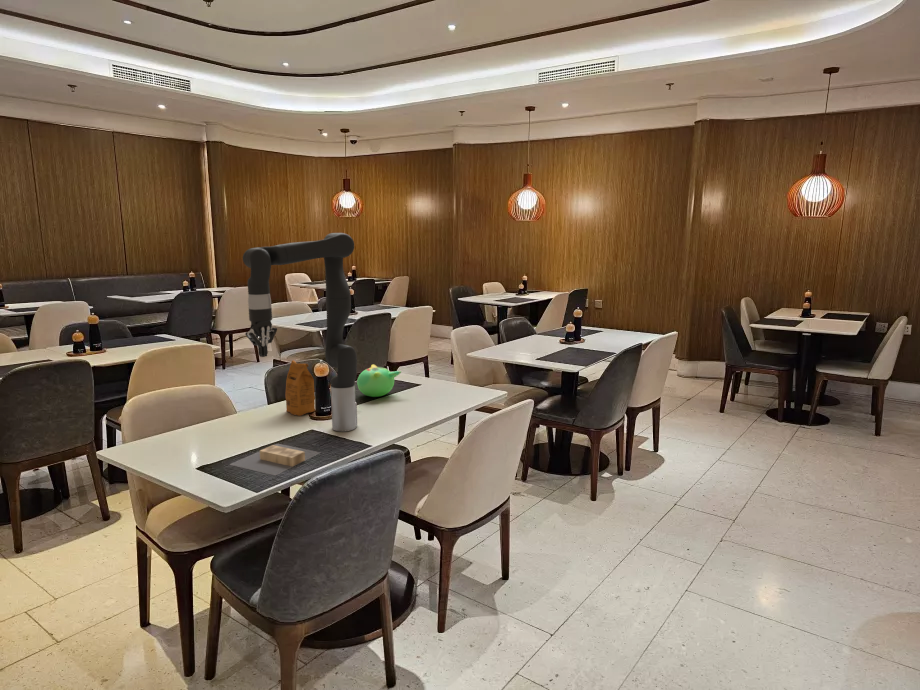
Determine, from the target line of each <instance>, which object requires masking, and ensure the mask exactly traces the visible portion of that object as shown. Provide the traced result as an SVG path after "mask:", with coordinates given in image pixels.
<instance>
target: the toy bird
mask: <svg viewBox="0 0 920 690" xmlns="http://www.w3.org/2000/svg"><path fill="white" fill-rule="evenodd" d="M401 373H402V371H401V370H396V371H390V370H389V369H388V368H385V367H382V366H377V365H376V364H371V366H370V367H369V368H366V369H364V370H363V371H362V372H361V373H360V374H359V375H358V377H357V380H356V381H357V382H356V384H357V388H358V390H359V392H360V393H362V395H365V396H367V397H371V398H377V397H382V396H385V395H387V394H389V393H390V392H391V391H392V390H393V388H394V385H395V378H396V377H397V376H399V375H400V374H401Z"/></svg>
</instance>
